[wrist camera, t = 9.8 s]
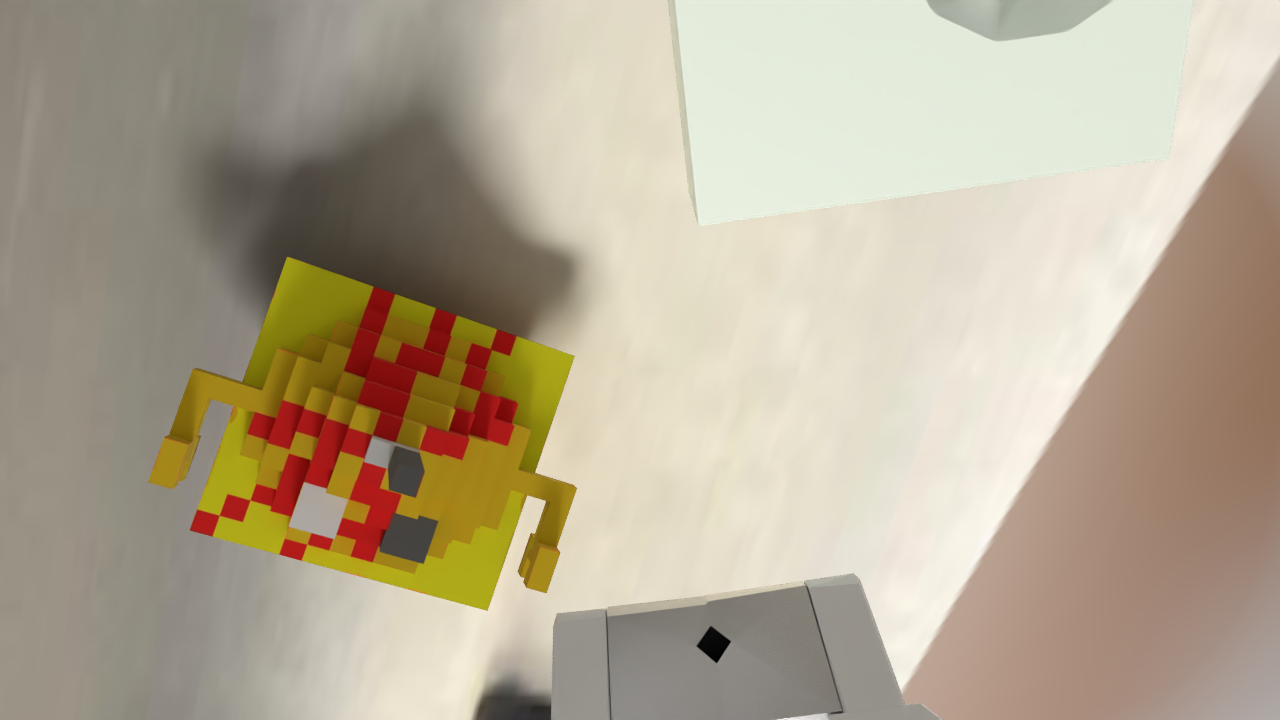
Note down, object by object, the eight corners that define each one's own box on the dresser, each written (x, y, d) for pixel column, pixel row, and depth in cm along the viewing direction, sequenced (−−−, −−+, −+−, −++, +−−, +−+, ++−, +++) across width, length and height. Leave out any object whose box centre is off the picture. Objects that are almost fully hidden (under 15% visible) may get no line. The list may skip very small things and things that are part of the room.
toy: (182, 484, 39) (66, 583, 25) (265, 253, 40) (198, 218, 25) (504, 574, 43) (567, 707, 28) (577, 360, 43) (676, 384, 29)
